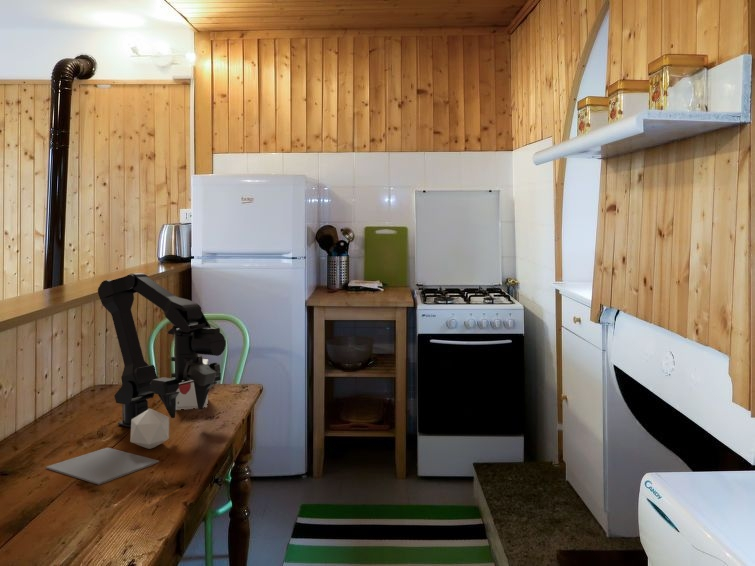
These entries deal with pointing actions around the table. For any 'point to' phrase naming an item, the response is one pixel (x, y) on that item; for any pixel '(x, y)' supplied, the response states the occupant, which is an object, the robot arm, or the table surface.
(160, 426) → the grey faceted block
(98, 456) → the mat
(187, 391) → the supplement box
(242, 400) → the table surface
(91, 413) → the table surface
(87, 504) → the table surface
